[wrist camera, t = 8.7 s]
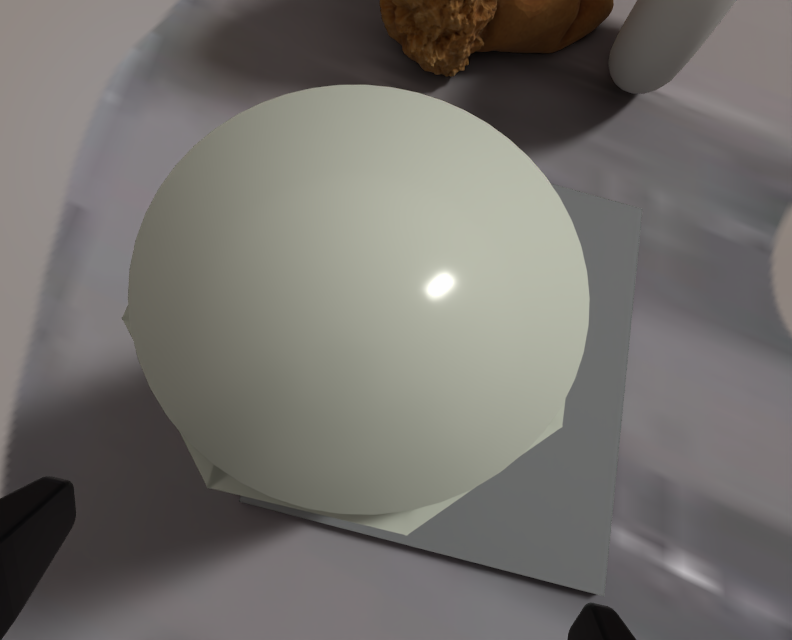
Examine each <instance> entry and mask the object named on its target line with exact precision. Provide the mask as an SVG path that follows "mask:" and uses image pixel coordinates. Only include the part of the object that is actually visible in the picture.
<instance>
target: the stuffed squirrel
mask: <svg viewBox="0 0 792 640" xmlns="http://www.w3.org/2000/svg"><path fill="white" fill-rule="evenodd" d="M380 7H381V9H380V11H381V14H382V21H383V22H384V24H385V28H386V29H387V32H388V34H389V36H390V37H391V38H393V39H394V40H396V41H397V42H398V43H399V44H401V45H402V47H403V48H402V50H403V52H404V54H405V55H407V56H408V57H409V58H411V59H412V60H414V61H416V62H417V63H419V65H420V66H421V68H422V69H423V70H424V71H430V72H432V73H434V74H435V75H440V74H443V75H445V76H446V77H448V76H451V77H452V76H455V74H456V73H457V72H459V71H460V70H461V71H463V70H465V65H468V64H469V60H468V57H469V56H470V54H471V53H474V52H475V51H476V52H488V51H493V50H495V51H501V52H514V53H553V52H556V51H558V50H560V49H563V48H564V47H566V46H568V45H570V44H572V43H574V42H576V41H578V40H579V39H581V38H583V37H584V36H585V35H587V34H589V33H590V32H592V31H593V30H594V29H595V28H597V27H598V26H599V24H601V23H602V22H603V21H604V20H605V19H606V18H607V17H608V16H609V14H610V13H611V11H612V9H613V0H380Z"/></svg>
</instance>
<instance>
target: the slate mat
mask: <svg viewBox="0 0 792 640" xmlns="http://www.w3.org/2000/svg"><path fill="white" fill-rule="evenodd" d="M550 184H551V183H550ZM551 185H552V187H553V188H554V190H555V191H556V193H557V194H558V195H559V197H560V199H561V201H562V202H563V204H564V206H565V208H566V210H567V212H568V214H569V216H570V218H571V220H572V222H573V225H574V228H575V230H576V233H577V236H578V238H579V241H580V244H581V247H582V251H583V256H584V260H585V265H586V269H587V276H588V286H589V297H590V301H589V326H588V331H587V337H586V342H585V348H584V353H583V356H582V359H581V362H580V365H579V368H578V371H577V374H576V377H575V380H574V382H573V384H572V386H571V388H570V390H569V392H568V394H567V396H566V399H565V408H564V416H563V424H562V426H563V427H562V428H560V429H558V430H557V431H556V432H554V433H553V434H551V435H550V436H548V437H547V438H545V439H544V440H543V441H541V442H540V443H538V444H537V445H535V446H534V447H533V448H531V449H530V450H528V451H527V452H525V453H524V454H523V455H521V456H520V457H519V458H517V459H516V460H515V461H514V462H512V463H511V464H510V465H509V466H507V467H506V468H505V469H504V470H503V471H501V472H500V473H499V474H497V475H495V476H494V477H492V478H490V479H488V480H487V481H485V482H483V483H482V484H480V485H478V486H477V487H475V488H474V489H472V490H471V491H470V492H468V493H467V494H465V495H464V496H462V497H461V498H460V499H458V500H457V501H455V502H454V503H452V504H451V505H450V506H448V507H447V508H445V509H444V510H442V511H441V512H440V513H438V514H437V515H435V516H434V517H432V518H431V519H429V520H428V521H427V522H425V523H424V524H422V525H421V526H419V527H418V528H417V529H415V530H414V531H412V532H411V533H409V534H408V536H405V535H403V534H399V533H395V532H391V531H387V530H382V529H378V528H374V527H370V526H366V525H361V524H357V523H353V522H349V521H345V520H341V519H336V518H332V517H328V516H324V515H320V514H316V513H311V512H307V511H303V510H299V509H295V508H290V507H286V506H282V505H278V504H274V503H270V502H265V501H261V500H257V499H253V498H249V497H245V496H240V499H239V502H243V503H247V504H251V505H254V506H258V507H262V508H266V509H270V510H274V511H278V512H281V513H285V514H289V515H293V516H297V517H301V518H304V519H308V520H312V521H316V522H320V523H324V524H328V525H331V526H335V527H339V528H343V529H347V530H351V531H355V532H358V533H362V534H366V535H370V536H374V537H378V538H382V539H385V540H389V541H393V542H397V543H401V544H405V545H408V546H412V547H416V548H420V549H424V550H428V551H432V552H435V553H439V554H443V555H447V556H451V557H455V558H459V559H462V560H466V561H470V562H474V563H478V564H482V565H486V566H489V567H493V568H497V569H501V570H505V571H509V572H513V573H516V574H520V575H524V576H528V577H532V578H536V579H539V580H543V581H547V582H551V583H555V584H559V585H563V586H566V587H570V588H574V589H578V590H582V591H586V592H590V593H593V594H597V595H601V596H604V593H605V583H606V573H607V563H608V553H609V543H610V533H611V522H612V512H613V502H614V492H615V482H616V472H617V462H618V452H619V442H620V432H621V421H622V411H623V401H624V391H625V381H626V371H627V361H628V351H629V341H630V331H631V320H632V310H633V300H634V290H635V280H636V270H637V260H638V250H639V240H640V230H641V220H642V209H641V208H638V207H634V206H631V205H627V204H623V203H620V202H616V201H612V200H609V199H605V198H601V197H598V196H594V195H591V194H587V193H583V192H580V191H576V190H572V189H569V188H565V187H561V186H558V185H554V184H551Z"/></svg>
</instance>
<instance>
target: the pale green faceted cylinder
mask: <svg viewBox="0 0 792 640" xmlns="http://www.w3.org/2000/svg"><path fill="white" fill-rule="evenodd" d="M589 301H590V297H589V286H588V276H587V269H586V265H585V260H584V256H583V251H582V247H581V244H580V241H579V238H578V236H577V233H576V230H575V228H574V225H573V222H572V220H571V218H570V216H569V214H568V212H567V210H566V208H565V206H564V204H563V202H562V201H561V199H560V197H559V195H558V194H557V193H556V191H555V190H554V188H553V187H552V185H551V184H550V182H549V181H548V179H547V178H546V176H545V175H544V174H543V173H542V172H541V171H540V169H539V168H538V167H537V166H536V165H535V164H534V163H533V161H532V160H531V159H530V158H529V157H528V156H527V155H526V154H525V153H524V152H523V151H522V150H521V149H520V148H518V147H517V146H516V145H515V144H514V143H513V142H512V141H511V140H510V139H508V138H507V137H506V136H504V135H503V134H502V133H500V132H499V131H498V130H496V129H495V128H493V127H492V126H491V125H489V124H488V123H486V122H484V121H483V120H481V119H479V118H477V117H476V116H474V115H472V114H470V113H469V112H467V111H465V110H463V109H460V108H458V107H456V106H454V105H451V104H449V103H447V102H445V101H442V100H439V99H436V98H433V97H430V96H427V95H424V94H420V93H417V92H412V91H408V90H403V89H398V88H393V87H384V86H374V85H334V86H325V87H317V88H310V89H306V90H302V91H297V92H293V93H289V94H285V95H282V96H279V97H277V98H274V99H271V100H268V101H265V102H262V103H260V104H258V105H256V106H254V107H252V108H250V109H248V110H246V111H243V112H241V113H239V114H237V115H236V116H234V117H233V118H231V119H230V120H228V121H226V122H225V123H223V124H222V125H220V126H219V127H217V128H215V129H214V130H213V131H212V132H210V133H209V134H208V135H207V136H206V137H204V138H203V139H202V140H201V141H200V142H198V143H197V144H196V145H195V146H193V148H192V149H191V150H190V151H189V152H188V153H187V154H186V155H185V156H184V157H183V158H182V159H181V160H180V161H179V162H178V164H177V165H176V166H175V167H174V168H173V170H172V171H171V172H170V174H169V175H168V177H167V178H166V179H165V181H164V182H163V183H162V185H161V186H160V188H159V189H158V191H157V193H156V195H155V197H154V198H153V200H152V202H151V204H150V206H149V208H148V210H147V212H146V214H145V216H144V219H143V222H142V224H141V227H140V230H139V233H138V235H137V238H136V241H135V246H134V251H133V255H132V260H131V265H130V272H129V289H128V306H127V308H126V311H125V313H124V315H123V317H122V320H123V321H124V323H125V325H126V327H127V329H128V331H129V333H130V335H131V337H132V339H133V341H134V345H135V349H136V353H137V357H138V360H139V362H140V365H141V367H142V370H143V372H144V375H145V377H146V379H147V382H148V384H149V387H150V389H151V390H152V392H153V394H154V395H155V397H156V399H157V400H158V402H159V404H160V405H161V407H162V409H163V411H164V412H165V414H166V415H167V417H168V418H169V419H170V420H171V422H172V423H173V424H174V425H175V426H176V428H177V429H178V430H179V432H180V434H181V436H182V438H183V440H184V442H185V444H186V446H187V448H188V450H189V452H190V454H191V456H192V458H193V460H194V462H195V464H196V466H197V468H198V470H199V472H200V474H201V476H202V478H203V480H204V482H205V484H206V486H207V488H208V489H209V488H211V489H215V490H220V491H224V492H228V493H232V494H236V495H240V496H245V497H249V498H253V499H257V500H261V501H265V502H270V503H274V504H278V505H282V506H286V507H290V508H295V509H299V510H303V511H307V512H311V513H316V514H320V515H324V516H328V517H332V518H336V519H341V520H345V521H349V522H353V523H357V524H361V525H366V526H370V527H374V528H378V529H382V530H387V531H391V532H395V533H399V534H403V535H405V536H408V534H409V533H411V532H412V531H414V530H415V529H417V528H418V527H419V526H421V525H422V524H424V523H425V522H427V521H428V520H429V519H431V518H432V517H434V516H435V515H437V514H438V513H440V512H441V511H442V510H444V509H445V508H447V507H448V506H450V505H451V504H452V503H454V502H455V501H457V500H458V499H460V498H461V497H462V496H464V495H465V494H467V493H468V492H470V491H471V490H472V489H474V488H475V487H477V486H478V485H480V484H482V483H483V482H485V481H487V480H488V479H490V478H492V477H494V476H495V475H497V474H499V473H500V472H501V471H503V470H504V469H505V468H506V467H507V466H509V465H510V464H511V463H512V462H514V461H515V460H516V459H517V458H519V457H520V456H521V455H523V454H524V453H525V452H527V451H528V450H530V449H531V448H533V447H534V446H535V445H537V444H538V443H540V442H541V441H543V440H544V439H545V438H547V437H548V436H550V435H551V434H553V433H554V432H556V431H557V430H558V429H560V428H562V427H563V426H562V424H563V416H564V408H565V399H566V396H567V394H568V392H569V390H570V388H571V386H572V384H573V382H574V380H575V377H576V374H577V371H578V368H579V365H580V362H581V359H582V356H583V353H584V348H585V342H586V337H587V331H588V326H589Z"/></svg>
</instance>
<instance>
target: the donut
mask: <svg viewBox="0 0 792 640" xmlns="http://www.w3.org/2000/svg"><path fill="white" fill-rule="evenodd" d="M735 2H736V0H637V2H636V4H635V5H634V7H633V9H632V10H631V12H630V14H629V16H628V17H627V19H626V21H625V22H624V24H623V26H622V28H621V30H620V31H619V33H618V35H617V37H616V39H615V41H614V43H613V46H612V48H611V51H610V56H609V62H608V65H609V71H610V75H611V77H612V79H613V81H614V83H615V84H616V85H617V86H618V87H620V88H621V89H622V90H624V91H627V92H630V93H632V94H644V93H648V92H651V91H654V90H657V89H658V88H660V87H662V86H663V85H665V84H666V83H668V82H670V81H671V80H672V79H673V78H674V77H675V76H676V75H677V73H678V72H679V71H680V70H681V69H682V68H683V67H684V66H685V65H686V64H687V63H688V62H689V60H690V59H691V58H692V57H693V56H694V54H695V53H696V52H697V51H698V50H699V48H700V47H701V46H702V45H703V43H704V42H705V41H706V40H707V38H708V37H709V36H710V35H711V33H712V32H713V31H714V29H715V28H716V27H717V26H718V24H719V23H720V22H721V20H722V19H723V18H724V16H725V15H726V14H727V12H728V11H729V10H730V8H731V7H732V6H733V4H734V3H735Z"/></svg>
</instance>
